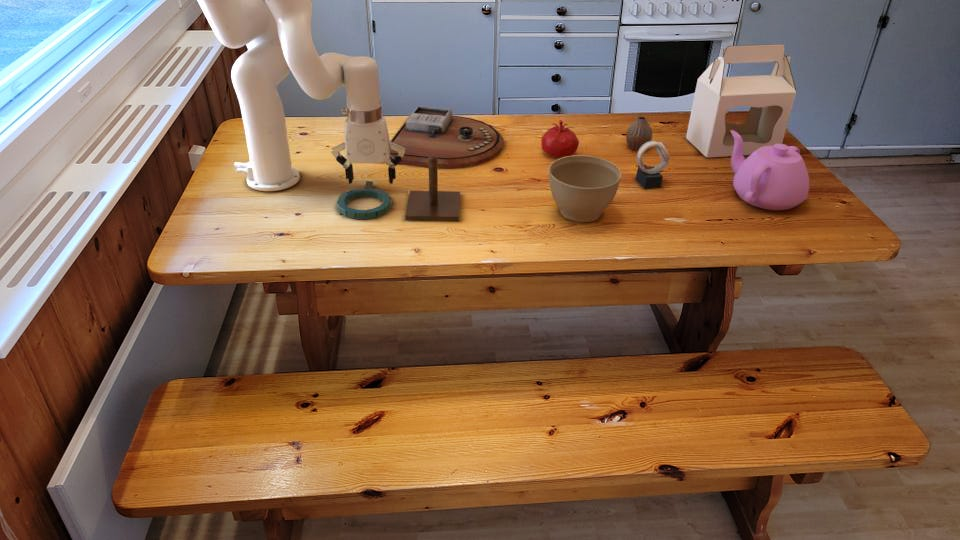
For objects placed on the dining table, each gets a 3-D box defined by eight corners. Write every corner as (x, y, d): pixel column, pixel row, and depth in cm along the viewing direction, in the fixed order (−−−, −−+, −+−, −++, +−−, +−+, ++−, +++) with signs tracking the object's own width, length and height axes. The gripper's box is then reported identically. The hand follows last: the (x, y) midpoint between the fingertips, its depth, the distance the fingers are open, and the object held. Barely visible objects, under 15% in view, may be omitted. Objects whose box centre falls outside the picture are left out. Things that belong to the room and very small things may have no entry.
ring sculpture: (668, 187, 177) (676, 146, 171) (637, 189, 175) (644, 148, 169) (658, 176, 181) (666, 136, 175) (629, 179, 180) (635, 138, 174)
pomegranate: (558, 165, 185) (562, 131, 180) (532, 152, 192) (535, 119, 187) (585, 155, 191) (589, 123, 185) (559, 143, 197) (562, 111, 192)
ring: (333, 218, 160) (333, 212, 159) (344, 186, 173) (344, 180, 172) (388, 219, 160) (387, 213, 159) (395, 187, 173) (394, 181, 172)
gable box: (756, 134, 206) (781, 36, 190) (780, 153, 195) (809, 51, 179) (684, 138, 202) (704, 38, 186) (705, 158, 191) (728, 54, 176)
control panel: (410, 100, 207) (512, 110, 202) (411, 117, 210) (511, 127, 205) (376, 143, 182) (492, 155, 177) (378, 161, 185) (491, 174, 180)
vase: (653, 146, 197) (659, 116, 192) (644, 155, 192) (649, 124, 187) (630, 140, 200) (635, 111, 195) (620, 149, 195) (625, 118, 190)
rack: (405, 220, 160) (403, 166, 153) (409, 194, 170) (408, 143, 163) (458, 221, 160) (459, 168, 153) (460, 195, 170) (460, 145, 163)
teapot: (739, 167, 187) (752, 117, 179) (820, 196, 175) (837, 144, 167) (695, 193, 174) (706, 141, 166) (779, 227, 162) (795, 172, 154)
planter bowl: (531, 208, 166) (534, 166, 160) (581, 190, 174) (585, 149, 168) (579, 238, 155) (584, 194, 149) (629, 217, 164) (636, 174, 158)
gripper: (323, 119, 158) (332, 188, 168) (401, 119, 158) (406, 188, 167) (329, 107, 164) (338, 174, 174) (404, 107, 164) (408, 174, 174)
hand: (371, 181), depth 171 cm, fingers open, 9 cm apart
